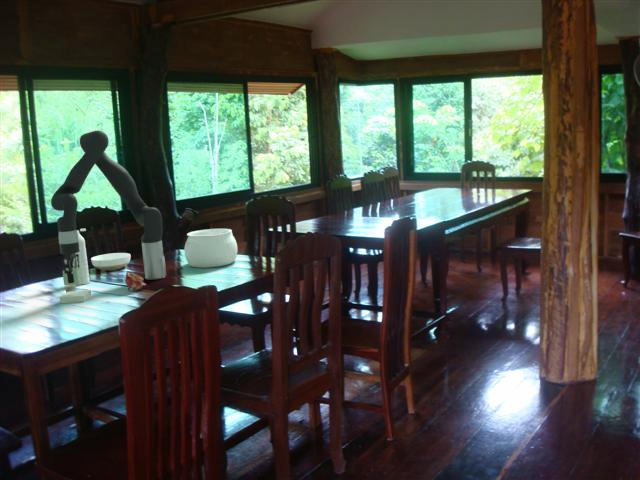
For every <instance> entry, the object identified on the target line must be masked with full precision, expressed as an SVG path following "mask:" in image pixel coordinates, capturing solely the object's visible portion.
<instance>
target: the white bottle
mask: <svg viewBox="0 0 640 480" xmlns="http://www.w3.org/2000/svg"><path fill="white" fill-rule="evenodd" d="M76 230H77V234H78V241H79V250H80V251H79V252H78V253H76V254H79V266H80V267H81V268H82V276H83V282H81V283H80V284H78V285H77V286H82V284H83V285H87V284H90V282H91V281H90V273H89V272H90V271H89V265H88V257H87V248H86V240H85V238H84V237H83V236H82V235H81V234H80V232H86V231H87V229H86V228H80V229H79V230H78V229H76ZM80 267H79V268H80Z"/></svg>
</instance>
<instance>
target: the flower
mask: <svg viewBox="0 0 640 480" xmlns="http://www.w3.org/2000/svg"><path fill="white" fill-rule="evenodd" d="M124 283H125V285H127V287H128V288H127V289H126V290H127V291H131V289H132V290H134V291H136V292H137V291H139V290H141V289H143V286H147V283H145V282H144V278H143V277H142V276H140V275H138V274H136V273H134V272H133V271H132V272H128V271H127V272H126V273H125V276H124Z"/></svg>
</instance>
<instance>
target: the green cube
mask: <svg viewBox="0 0 640 480" xmlns="http://www.w3.org/2000/svg"><path fill="white" fill-rule="evenodd" d="M68 271H69V269H68ZM62 278H63V279H62V280H63V285H64V286H66V285H75V286H76V285H77V286H79V285H78V284H80V283H81V282H83V276H82V268H81V267H80V268H74V269H73V278H74V282H73V283H68V277H67V274H65V272H64V270H62Z"/></svg>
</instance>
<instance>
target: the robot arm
mask: <svg viewBox="0 0 640 480" xmlns="http://www.w3.org/2000/svg"><path fill="white" fill-rule="evenodd" d="M109 142H110V141H109V137H108V135H107V133H105V132H104V131H102V130H92V131H89V132H87V133H86V132H85V133H83V134H82V135H81V136H80V138H79V145H80V148H81V150H82V151H83V152H84V154H83V155H82V156H81V158H80V159H79V160H78V161H77V162H76V163H75V164H74V166H72V168H71V169H70V171H69V172H68V175H67V176H66V178H65V180H64V182H63V183H62V184H61V185H60V186H59V187H58V188H57V189H56V191H55V192H54V194H52V197H51V201H50V206H51V207H52V209H53V210H55V211H58V212H62V211H63V214H62V216H59V217H58V218H57V230H58V245H59V251H60V252H59V253H60V254H62V255H65V256H64V259H63V260H62V265H63V271H64V272H65V274H67V277H68V283H73V282H74V278H73V269H74V268H79V267H80V266H79V254H76V253H78V252H79V251H80V250H79V241H78V234H77V230H78V229H77V224H76V223H77V222H76V219H77V211H78V203H79V202H78V199H77V197H76V196H75V195H76V194H78V193H80V191H81V189H82V188H83V186H84V184H85V182H86V179H87V178H88V176H89V174H90V172H91V171H92V169H93V167H94V166H96V167H97V168H98V169H99V170H100V172H101V173H102V175H104V177H105V178H106V179H107V181H108V183H109V184H110V185H111V187H112V188H113V189H114V191H115V192H116V193H117V194H118V196H119V197H120V199H121V200H122V201H123V202H124V203H125V205H126V206H127V207H128V209H129V211H130V212H131V214H132V215H133V218H134V219H135V220H136V223H138V225H140V226H141V227H144V229H143V230H144V233H143V235H142V236H141V241H140V242H141V249H142V259H143V269H144V277H145V280H148V281H149V280H150V281H151V280H152V281H153V280H160V279H165V277H167V269H166V267H167V266H166V261H165V260H166V259H165V255H164V247H163V238H162V237H163V233H164V232H163V228H164V227H163V217H162V213H161V211H160V210H159V209H158V208H157V207H153V206H152V207H150V206H148V205H147V204H146V203H145V202H144V200H143V199H142V198H141V196H140V195H139V192H138V189H137V188H138V187H137V185H136V182H135V180H134V179H133V177H132V176H131V175H130V173H129V171H128V170H127V169H126V168H124V166H122V165H121V164H119V163H118V162H116V161H115V160H113V159H112V158H110V157H109V155H107V154H106V152H105V151H106V149H108V146H109ZM68 269H69V271H68Z"/></svg>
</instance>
